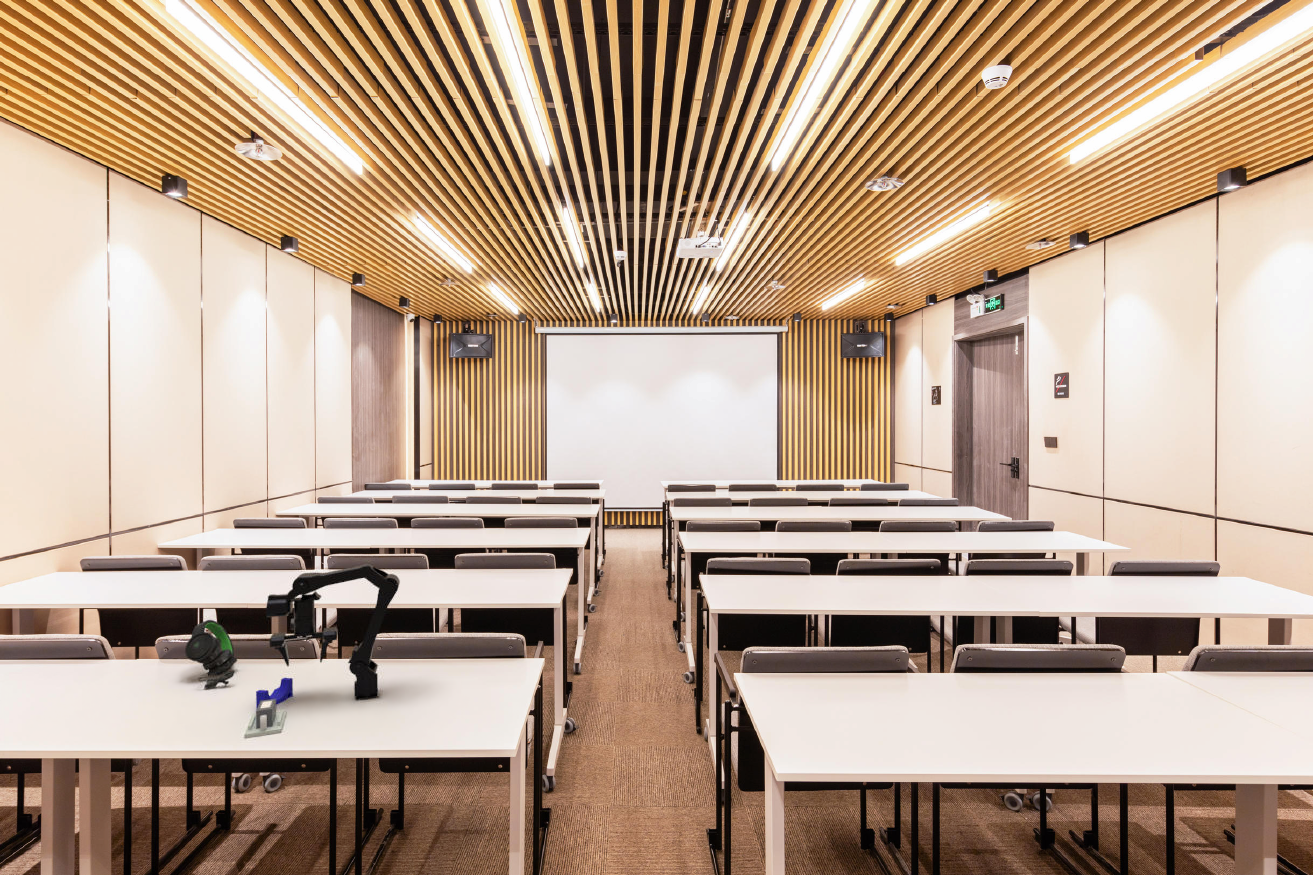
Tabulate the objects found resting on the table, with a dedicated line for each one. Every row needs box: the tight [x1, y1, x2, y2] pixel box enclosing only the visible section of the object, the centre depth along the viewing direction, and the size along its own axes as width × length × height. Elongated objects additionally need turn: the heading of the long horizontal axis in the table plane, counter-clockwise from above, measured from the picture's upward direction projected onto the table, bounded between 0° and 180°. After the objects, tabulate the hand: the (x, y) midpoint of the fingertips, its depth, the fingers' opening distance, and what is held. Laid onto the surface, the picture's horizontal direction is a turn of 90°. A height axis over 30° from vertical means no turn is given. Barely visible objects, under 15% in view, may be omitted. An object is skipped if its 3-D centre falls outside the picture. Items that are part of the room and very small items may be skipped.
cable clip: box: [255, 677, 294, 711], centre depth 217 cm, size 12×4×6 cm, turn 169°
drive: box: [255, 699, 277, 729], centre depth 200 cm, size 4×8×5 cm, turn 22°
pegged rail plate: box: [243, 709, 287, 739], centre depth 200 cm, size 9×14×5 cm, turn 23°
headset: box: [184, 619, 238, 689], centre depth 240 cm, size 18×14×29 cm
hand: (304, 664), depth 217 cm, fingers open, 9 cm apart
